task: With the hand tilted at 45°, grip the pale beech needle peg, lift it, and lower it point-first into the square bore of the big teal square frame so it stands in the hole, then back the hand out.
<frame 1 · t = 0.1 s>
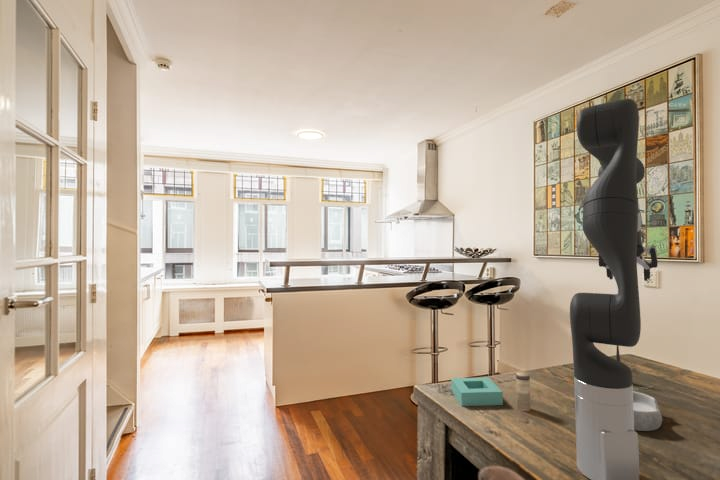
hand: (628, 279, 114), 31 cm above the table, tool tilted 20°, fingers open, 8 cm apart
teal square frame: (475, 397, 106), on the table
eiffel tower figurine: (617, 384, 115), on the table
dish: (627, 420, 91), on the table
needle peg: (523, 408, 98), on the table
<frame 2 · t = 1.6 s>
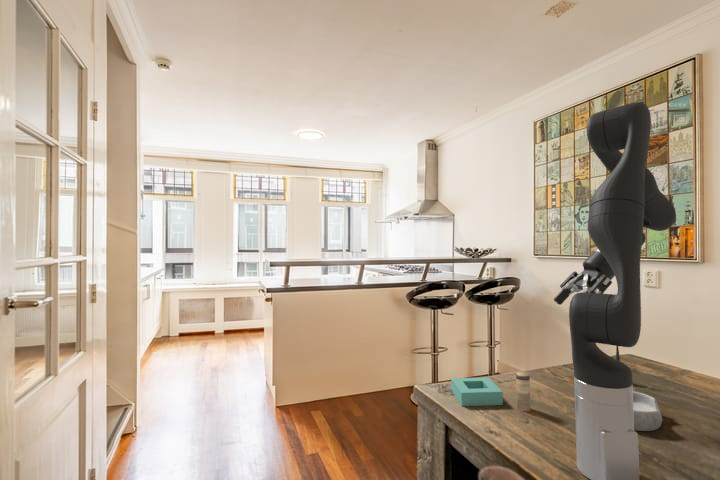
hand: (565, 304, 99), 27 cm above the table, tool tilted 45°, fingers open, 8 cm apart
nothing on the table moved.
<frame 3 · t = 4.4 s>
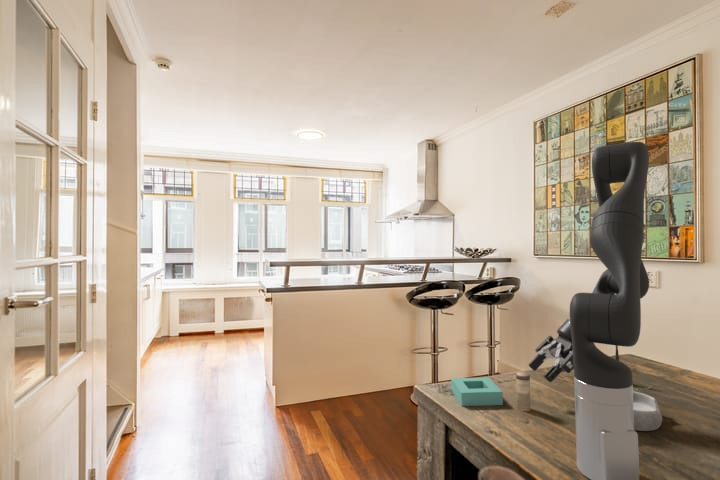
hand: (538, 373, 98), 9 cm above the table, tool tilted 45°, fingers open, 8 cm apart
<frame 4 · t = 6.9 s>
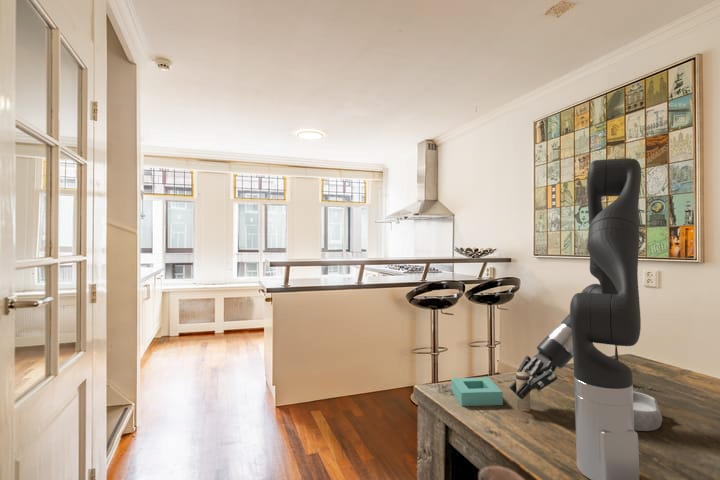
hand: (515, 393, 98), 4 cm above the table, tool tilted 45°, fingers closed on needle peg, 3 cm apart
needle peg: (523, 408, 98), on the table, touching gripper
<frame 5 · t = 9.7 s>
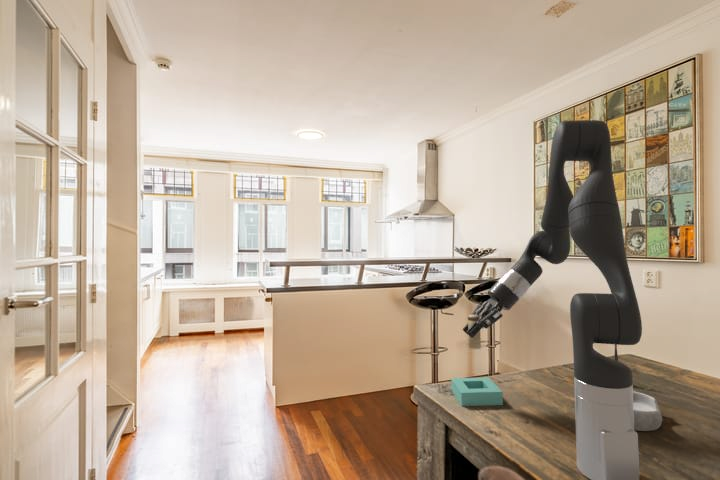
hand: (467, 333, 107), 18 cm above the table, tool tilted 45°, fingers closed on needle peg, 3 cm apart
needle peg: (474, 347, 107), point 14 cm above the table, touching gripper
when the fingers open (6 cm above the table, at t = 12.7 s): needle peg drops 2 cm, resting in teal square frame.
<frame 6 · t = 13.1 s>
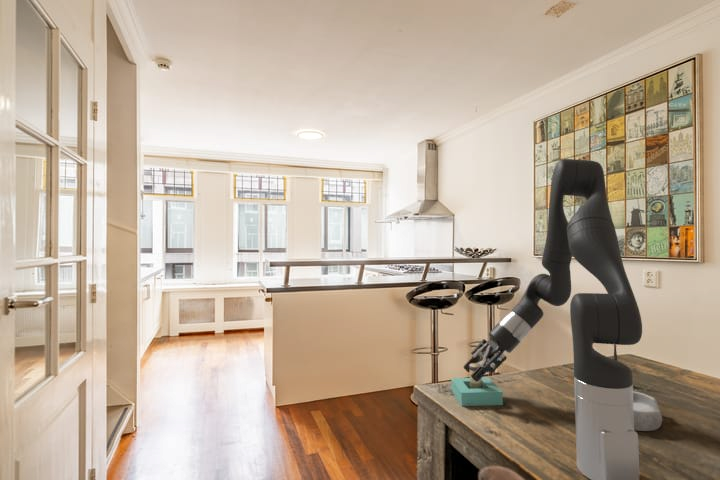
hand: (469, 374, 106), 6 cm above the table, tool tilted 45°, fingers open, 7 cm apart
needle peg: (476, 397, 106), resting in teal square frame
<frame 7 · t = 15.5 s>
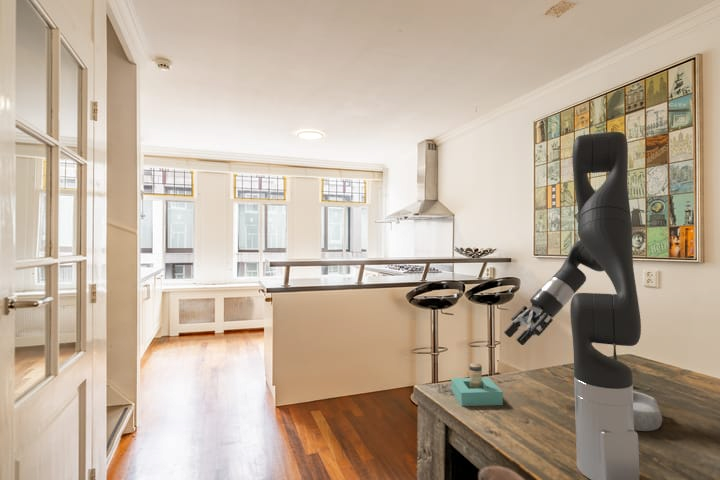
hand: (512, 338, 107), 16 cm above the table, tool tilted 45°, fingers open, 8 cm apart
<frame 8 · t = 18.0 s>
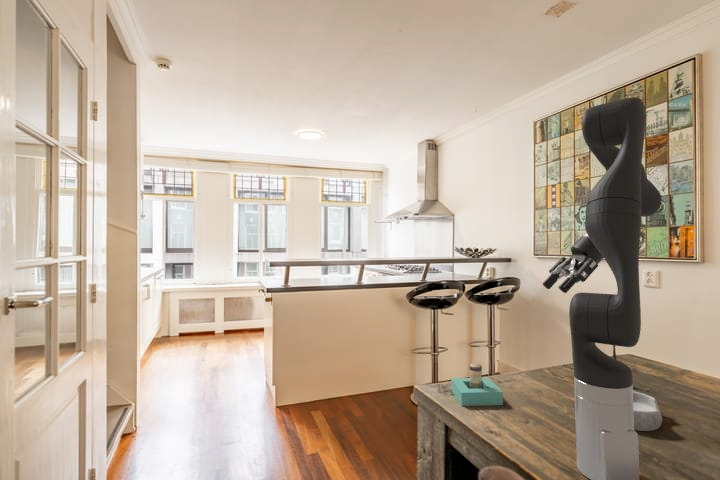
hand: (553, 288, 101), 31 cm above the table, tool tilted 45°, fingers open, 8 cm apart
at the end: needle peg 0.1 cm from the teal square frame (horizontally); needle peg resting in teal square frame; needle peg tilted 1° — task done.
